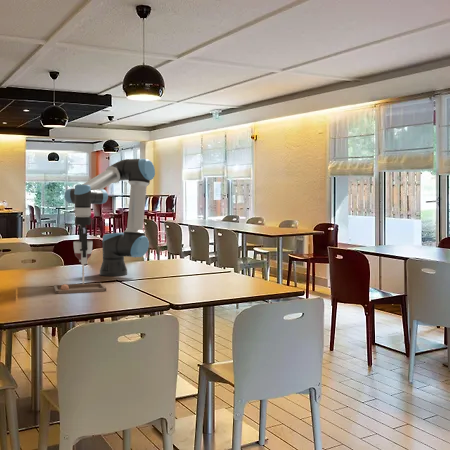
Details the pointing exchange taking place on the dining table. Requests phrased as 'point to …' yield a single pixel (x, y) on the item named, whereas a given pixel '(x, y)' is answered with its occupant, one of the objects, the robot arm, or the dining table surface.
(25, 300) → the dining table surface
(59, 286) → the tray
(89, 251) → the wineglass
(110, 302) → the dining table surface
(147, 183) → the robot arm
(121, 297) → the dining table surface
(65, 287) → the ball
